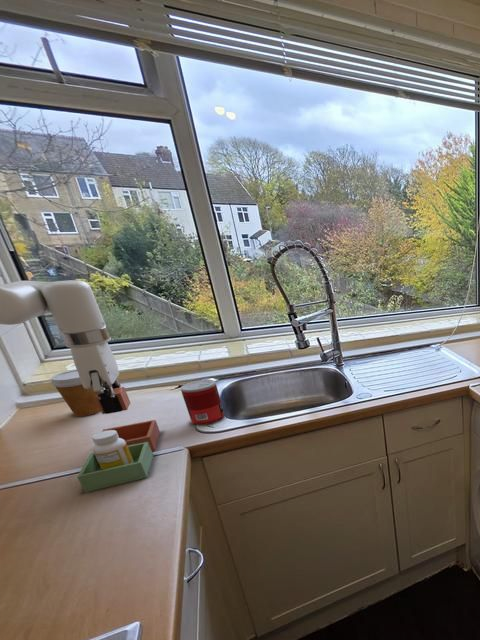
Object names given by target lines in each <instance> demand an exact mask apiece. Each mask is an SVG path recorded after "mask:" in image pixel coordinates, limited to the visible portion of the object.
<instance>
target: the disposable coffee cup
mask: <svg viewBox="0 0 480 640" xmlns="http://www.w3.org/2000/svg"><path fill="white" fill-rule="evenodd" d="M50 380H51V381H50V384H51V385H52V386H53V387H54V388H55V389H56V390H57V392H58V393H59V395H60V396H61V397H62V399H63V400H64V402H65V403H66V404H67V406H68V408H69V409H70V410H71V412H72V413H73V415H74V416H75V417H86V416H91V415H94V414H97V413H99V412H101V410H100V407H99V405H98V403H97V400H96V398H95V397H96V396H97V395H96V393H94V389H93V385H92V386H91V387H90V388H89V389H85V388H84V387H83V385H82V382H81V380H80V377H79V374H78V372H77V369H73V370H67V371H63V372H60V373H57V374H55V375H53V376H51V379H50Z"/></svg>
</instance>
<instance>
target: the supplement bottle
mask: <svg viewBox="0 0 480 640" xmlns="http://www.w3.org/2000/svg"><path fill="white" fill-rule="evenodd" d="M102 431H103V430H102ZM102 431H100V432H98V433H96V434H94V435H92V437H91V439H92V441H93V443H94V445H93V446H92V453H94V454H95V456H96V458H97V460H98V462H99V465H100V467H101V469H102V470H104V469H109V468H113V467H118V466H122V465H126V464H131V463H134V461H133V459H132V456H131V454H130V452H129V449H128V447H127V444H126V442H125V440H124V439H122V438H118V437H119V436H118V434H117V431H115V430H108V431H103V432H102ZM95 444H96V445H95Z"/></svg>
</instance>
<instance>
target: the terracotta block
mask: <svg viewBox="0 0 480 640" xmlns="http://www.w3.org/2000/svg"><path fill="white" fill-rule="evenodd" d="M107 390H108V389H107ZM108 391H109V390H108ZM113 391H114V394H115V396H118V399H119V401H120V404H121V406H122V409H123V410H122V411H121V412H124V411H127V410H128V409H129V407H130V405H131V400H130V398H129V396H128V393H127V390H126V388H125V386H121V387H120V388H114V389H113ZM95 398H96V400H97V403H98V405H99V407H100V410H101V411H100V412H101V414H102V415H106V414H105V413H104V411H103V408H102V406H101V404H100V401H99V399H98V397H97V396H96V397H95Z"/></svg>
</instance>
